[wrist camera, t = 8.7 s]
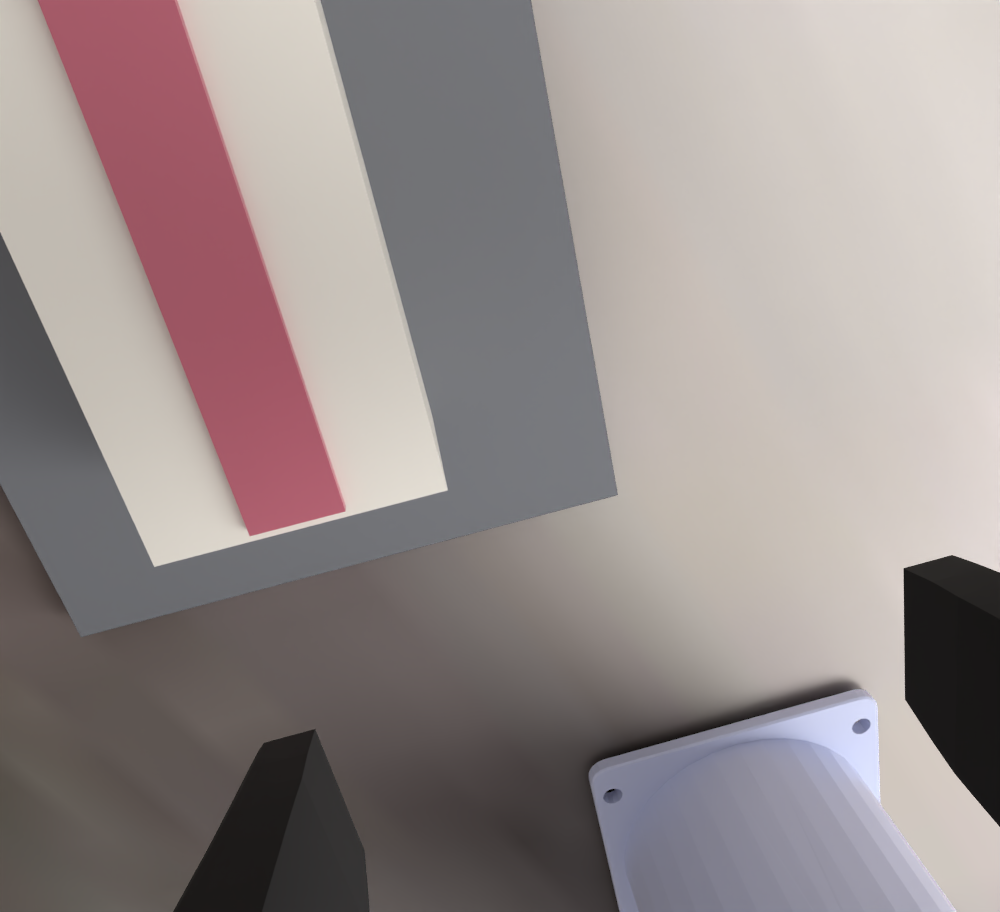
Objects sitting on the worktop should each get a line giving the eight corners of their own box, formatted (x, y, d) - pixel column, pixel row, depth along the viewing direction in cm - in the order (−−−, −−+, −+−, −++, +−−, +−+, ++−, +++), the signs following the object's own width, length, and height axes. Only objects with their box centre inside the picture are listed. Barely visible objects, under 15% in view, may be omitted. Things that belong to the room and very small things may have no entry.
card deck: (295, -92, 14) (275, -145, 10) (432, 415, 18) (449, 495, 14) (-16, -21, 14) (-138, -52, 10) (192, 477, 17) (151, 573, 14)
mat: (608, 479, 20) (617, 494, 19) (91, 615, 19) (80, 637, 18) (471, -281, 14) (478, -300, 13) (-284, -114, 13) (-322, -126, 12)
